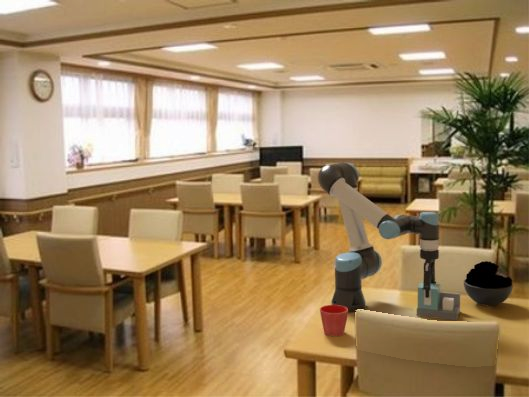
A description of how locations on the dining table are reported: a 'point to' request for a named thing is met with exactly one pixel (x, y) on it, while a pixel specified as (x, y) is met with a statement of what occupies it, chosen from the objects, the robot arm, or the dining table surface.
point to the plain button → (448, 303)
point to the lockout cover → (434, 297)
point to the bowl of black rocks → (487, 284)
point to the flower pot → (334, 319)
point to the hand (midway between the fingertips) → (429, 301)
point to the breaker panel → (440, 312)
